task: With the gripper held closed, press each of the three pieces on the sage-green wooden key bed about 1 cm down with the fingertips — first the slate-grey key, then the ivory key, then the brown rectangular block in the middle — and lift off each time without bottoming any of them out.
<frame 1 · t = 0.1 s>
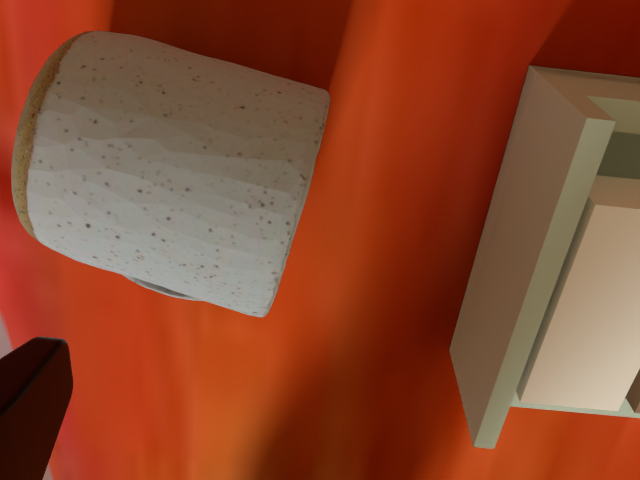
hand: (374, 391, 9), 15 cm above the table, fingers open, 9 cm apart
ivory key: (594, 298, 20), point 4 cm above the table, slide at 0.0 cm
ceramic mug: (206, 163, 23), on the table
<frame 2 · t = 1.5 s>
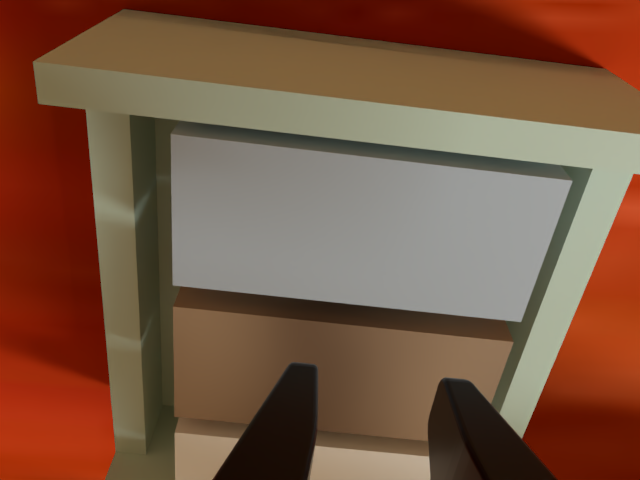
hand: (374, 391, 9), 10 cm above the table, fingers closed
ivory key: (317, 456, 18), point 4 cm above the table, slide at 0.0 cm
slate key: (358, 210, 14), point 4 cm above the table, slide at 0.0 cm
brown rectangular block: (335, 350, 16), point 4 cm above the table, slide at 0.0 cm
key bed: (335, 261, 19), on the table
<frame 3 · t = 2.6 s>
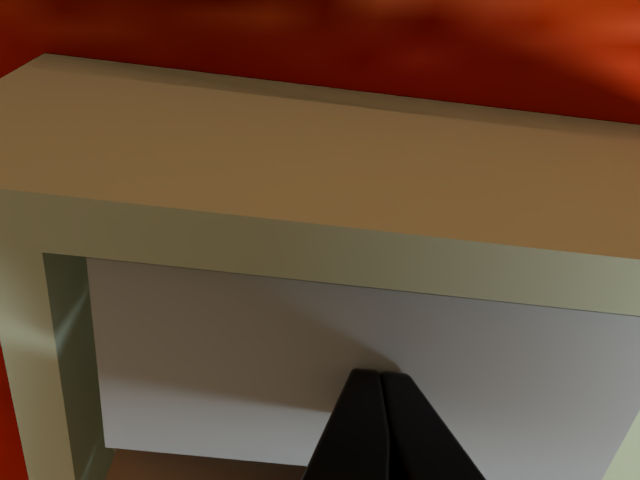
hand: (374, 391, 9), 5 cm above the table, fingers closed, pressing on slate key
slate key: (367, 338, 10), point 4 cm above the table, slide at 0.4 cm, touching gripper
key bed: (334, 364, 15), on the table
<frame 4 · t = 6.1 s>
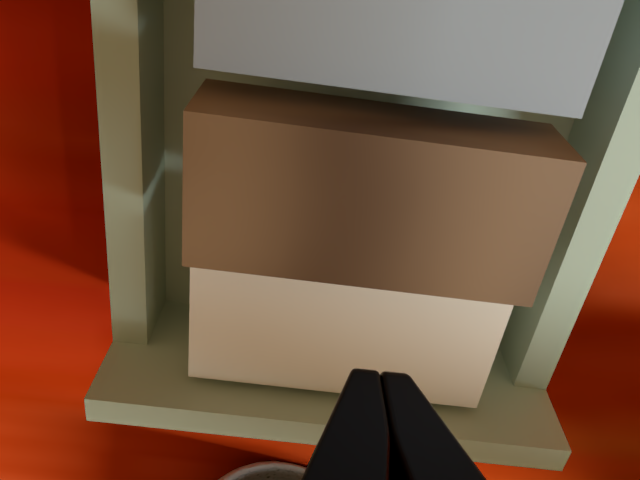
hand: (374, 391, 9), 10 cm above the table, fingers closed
ivory key: (342, 315, 16), point 3 cm above the table, slide at 0.9 cm
brown rectangular block: (369, 193, 14), point 4 cm above the table, slide at 0.0 cm
key bed: (362, 127, 17), on the table
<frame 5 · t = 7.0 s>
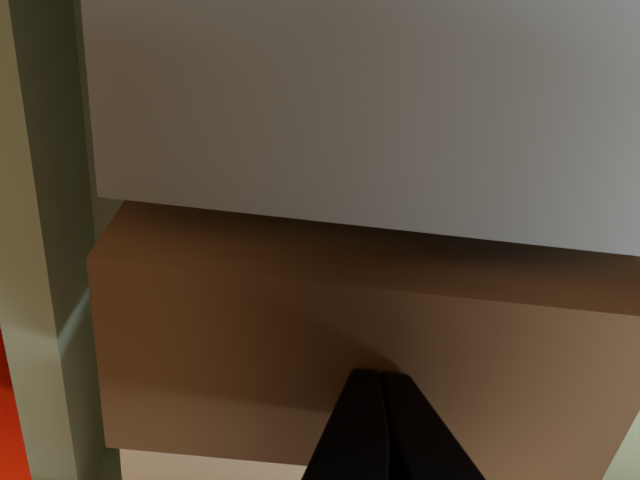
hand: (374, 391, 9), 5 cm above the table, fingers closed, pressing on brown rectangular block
ivory key: (335, 476, 12), point 3 cm above the table, slide at 0.9 cm
slate key: (413, 73, 8), point 3 cm above the table, slide at 0.9 cm
brown rectangular block: (367, 338, 10), point 4 cm above the table, slide at 0.3 cm, touching gripper
key bed: (358, 220, 13), on the table
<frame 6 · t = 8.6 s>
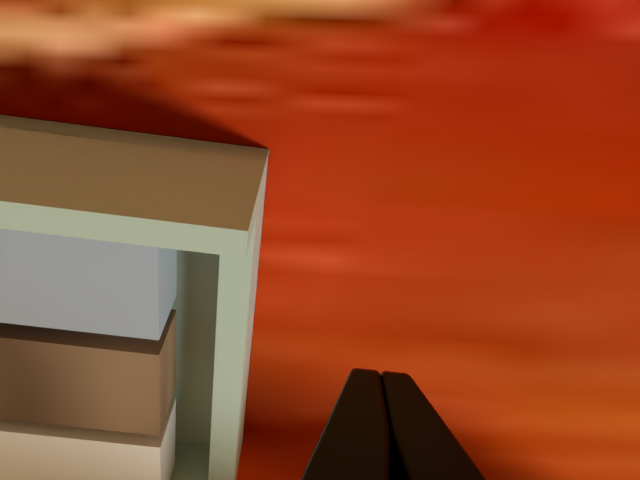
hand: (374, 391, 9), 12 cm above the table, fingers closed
ivory key: (60, 444, 22), point 3 cm above the table, slide at 0.9 cm
slate key: (34, 254, 18), point 3 cm above the table, slide at 0.9 cm
brown rectangular block: (48, 359, 20), point 3 cm above the table, slide at 0.9 cm
key bed: (85, 298, 23), on the table
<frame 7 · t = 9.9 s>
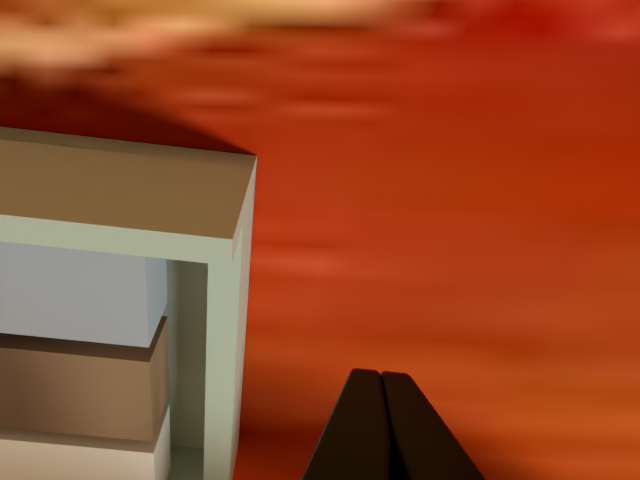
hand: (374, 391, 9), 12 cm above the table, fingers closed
ivory key: (55, 450, 22), point 3 cm above the table, slide at 0.9 cm
slate key: (24, 263, 18), point 3 cm above the table, slide at 0.9 cm
brown rectangular block: (41, 367, 20), point 3 cm above the table, slide at 0.9 cm
key bed: (79, 305, 23), on the table
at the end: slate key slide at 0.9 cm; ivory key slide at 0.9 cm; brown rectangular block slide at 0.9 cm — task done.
